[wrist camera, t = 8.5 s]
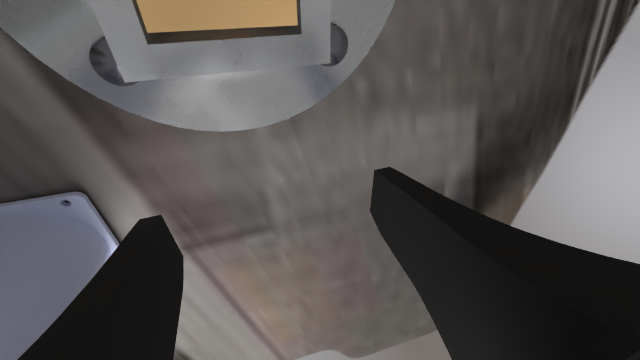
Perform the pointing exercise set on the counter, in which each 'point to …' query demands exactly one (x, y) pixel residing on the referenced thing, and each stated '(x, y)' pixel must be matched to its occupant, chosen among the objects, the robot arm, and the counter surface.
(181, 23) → the tan rectangular block
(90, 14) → the gray round plate
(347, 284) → the counter surface
